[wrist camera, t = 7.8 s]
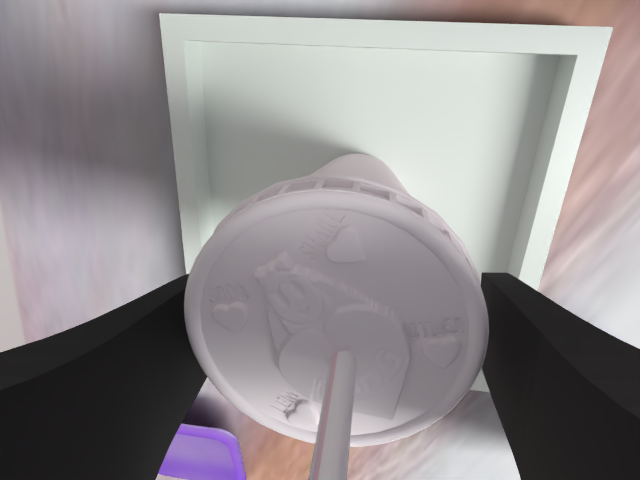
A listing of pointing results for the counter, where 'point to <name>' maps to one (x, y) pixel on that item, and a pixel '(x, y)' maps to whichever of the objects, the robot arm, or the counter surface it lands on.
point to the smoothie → (337, 311)
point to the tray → (385, 118)
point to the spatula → (204, 455)
